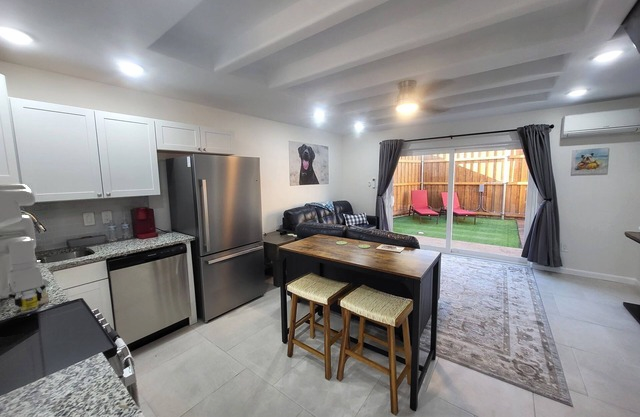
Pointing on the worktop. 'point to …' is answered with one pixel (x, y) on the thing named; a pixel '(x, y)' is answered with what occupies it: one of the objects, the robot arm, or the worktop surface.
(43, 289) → the top block
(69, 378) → the worktop surface
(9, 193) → the robot arm
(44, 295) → the bottom block
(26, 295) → the supplement bottle
